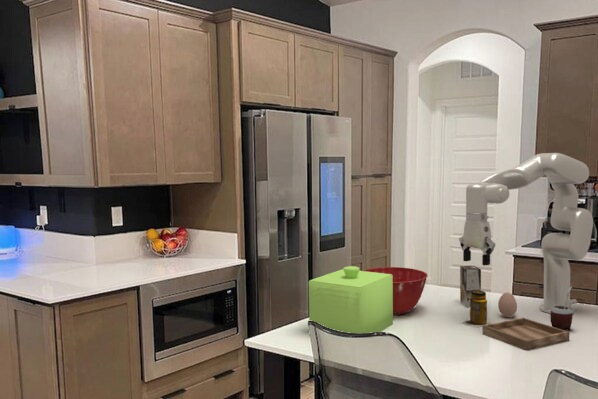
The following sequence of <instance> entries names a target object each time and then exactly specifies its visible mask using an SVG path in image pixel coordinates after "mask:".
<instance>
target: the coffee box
mask: <svg viewBox="0 0 598 399" xmlns="http://www.w3.org/2000/svg"><path fill="white" fill-rule="evenodd" d="M459 285H460V286H459V289H460V291H459V292H460V294H459V296H460V297H459V298H460V303H461V304H462V305H463V306H464V307H466V308H470V299H471V292H472V291H475V290H479V291H482V269H481V268H479V267H477V266H475V265H460V266H459Z"/></svg>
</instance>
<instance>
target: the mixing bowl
mask: <svg viewBox="0 0 598 399" xmlns="http://www.w3.org/2000/svg"><path fill="white" fill-rule="evenodd" d="M362 271H367V272H375V273H384V274H392V275H393V316H394V315H395V316H396V315H402V314H403V315H404V314H407V313H409V312H410V311H411V310H413V309H414V308H416V307H417V304H418V303H419V301H420V299H421V297H422V296H423V295H422V294H423V292H424V289H425V286H426V281H427V278H428V276H429V275H428V273H427V272H425V271H423V270H419V269H415V268H410V267H409V268H408V267H401V266H400V267H398V266H385V267H383V266H382V267H374V268H373V267H372V268H367V269H364V270H362Z"/></svg>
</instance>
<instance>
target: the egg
mask: <svg viewBox="0 0 598 399" xmlns="http://www.w3.org/2000/svg"><path fill="white" fill-rule="evenodd" d="M497 306H498V311H499V313H500V314H501V315H502V316H503V317H504V318H511V317H513V316H514V315H515V314H516V312H517V311H518V310H517V309H518V303H517V300H516V297H515V296H514V295H513V294H512V293H510V292H504V293H503V294H501V296H500V297H499V299H498V305H497Z"/></svg>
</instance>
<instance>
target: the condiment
mask: <svg viewBox="0 0 598 399" xmlns="http://www.w3.org/2000/svg"><path fill="white" fill-rule="evenodd" d="M487 318H488V300H487V293H486V292H485V291H484V290H481V291H479V290H475V291H472V292H471V299H470V307H469V320H468V319H467V320H465V321H461V323H463V324H465V325H468V326H470V327H475V328H480V327H483V325H488V324H492V322H489V321H488V319H487Z"/></svg>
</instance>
